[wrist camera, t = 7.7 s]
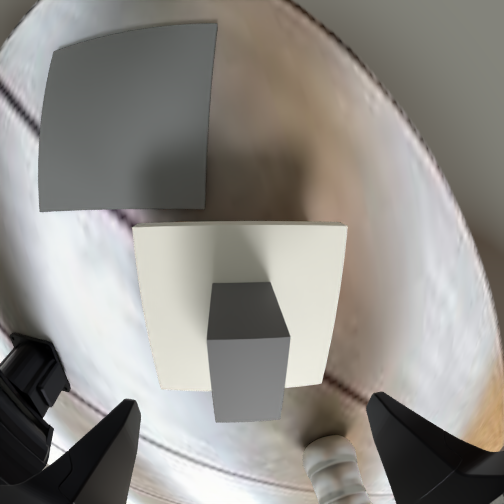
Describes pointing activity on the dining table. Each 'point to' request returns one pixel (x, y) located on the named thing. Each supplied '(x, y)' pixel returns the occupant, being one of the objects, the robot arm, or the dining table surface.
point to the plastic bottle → (334, 471)
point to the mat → (128, 121)
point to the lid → (240, 307)
